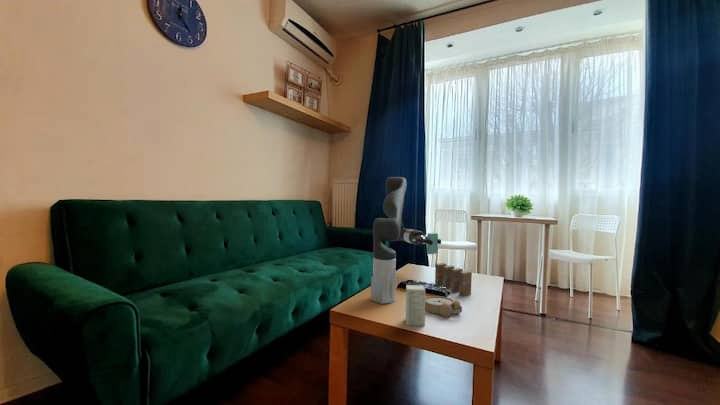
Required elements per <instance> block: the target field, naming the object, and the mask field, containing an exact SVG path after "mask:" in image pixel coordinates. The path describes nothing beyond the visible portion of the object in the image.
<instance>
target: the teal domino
mask: <svg viewBox="0 0 720 405" xmlns="http://www.w3.org/2000/svg"><path fill="white" fill-rule="evenodd" d="M426 235H427V239H429V240H432V241H433V244H432V245H429V244H426V254H427V255H435V254H438V245H439V244H438V239H439V233H438V232H430V233H429V232H428V233H427V234H426Z"/></svg>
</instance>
